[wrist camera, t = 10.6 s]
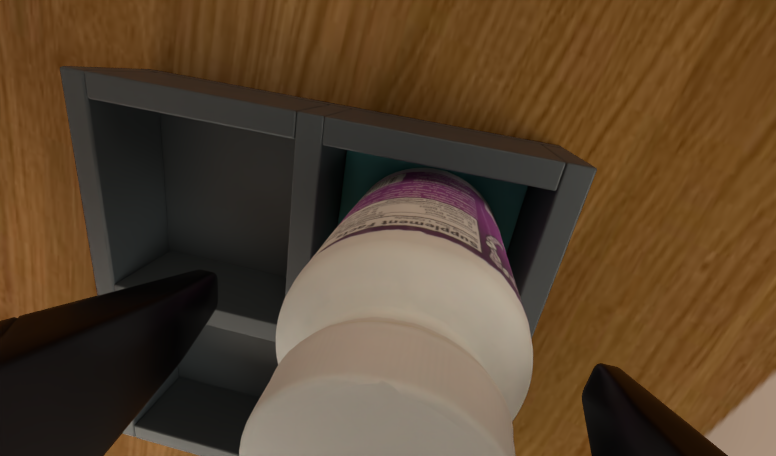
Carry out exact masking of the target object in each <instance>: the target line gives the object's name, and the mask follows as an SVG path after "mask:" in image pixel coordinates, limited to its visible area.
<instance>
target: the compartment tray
mask: <svg viewBox="0 0 776 456" xmlns="http://www.w3.org/2000/svg"><path fill="white" fill-rule="evenodd" d="M60 72H61V78H62V84H63V90H64V96H65V102H66V108H67V114H68V120H69V127H70V133H71V139H72V145H73V151H74V157H75V163H76V169H77V175H78V181H79V187H80V193H81V199H82V205H83V211H84V217H85V223H86V229H87V235H88V241H89V247H90V253H91V259H92V265H93V271H94V277H95V283H96V289H97V295H102V294H106V293H110V292H113V291H117V290H121V289H125V288H129V287H132V286H136V285H140V284H144V283H148V282H152V281H155V280H159V279H163V278H167V277H171V276H175V275H178V274H182V273H186V272H190V271H194V270H198V269H202V270H206V271H210V272H214V273H215V274H216V275H217V278H218V305H217V308H216V310H215V312H214V313H213V315H212V316H211V318H210V319H209V321H208V322H207V324H206V325H205V327H204V328H203V330H202V331H201V333H200V334H199V336H198V337H197V339H196V340H195V342H194V343H193V345H192V346H191V348H190V349H189V351H188V352H187V354H186V355H185V357H184V358H183V359H182V361H181V362H180V364H179V365H178V366H177V367H176V369H175V370H174V371H173V372H172V374H171V375H170V376H169V377H168V378H167V380H166V381H165V382H164V383H163V384H162V386H161V387H160V388H159V389H158V390H157V392H156V393H155V394H154V395H153V397H152V398H151V399H150V400H149V401H148V403H147V404H146V405H145V406H144V407H143V409H142V410H141V411H140V412H139V413H138V415H137V416H136V417H135V418H134V419H133V421H132V422H131V423H130V424H129V426H128V427H127V428H126V429H125V430H124V432H123V434H126V435H130V436H133V437H135V436H136V437H137V438H139V439H143V440H146V441H150V442H153V443H157V444H161V445H164V446H168V447H171V448H175V449H178V450H182V451H185V452H189V453H192V454H196V455H199V456H239V448H240V441H241V437H242V434H243V431H244V428H245V425H246V422H247V421H248V419H249V417H250V415H251V413H252V411H253V409H254V407H255V406H256V404H257V402H258V400H259V399H260V397H261V395H262V394H263V392H264V390H265V388H266V387H267V385H268V383H269V382H270V380H271V378H272V376H273V374H274V372H275V370H276V368H277V366H278V361H277V355H276V328H277V322H278V317H279V313H280V310H281V307H282V304H283V301H284V299H285V297H286V295H287V293H288V291H289V289H290V288H291V286H292V284H293V282H294V281H295V279H296V278H297V276H298V275H299V273H300V272H301V271H302V269H303V268H304V267H305V266H306V264H307V263H308V262H309V261H310V260H311V259H312V257H313V256H314V255H315V254H316V252H317V251H318V250H319V249H320V248H321V246H322V245H323V244H324V242H325V241H326V240H327V239H328V237H329V236H330V235H331V234H332V233H333V231H334V230H335V229H336V228H337V226H338V225H339V224H340V222H341V221H342V220H343V219H344V218H345V217H346V215H347V214H348V213H349V212H350V210H351V209H352V208H353V207H354V206H355V205H356V204H357V203H358V201H359V200H360V199H361V198H362V197H363V196H364V195H365V194H366V192H367V191H368V190H369V189H370V188H371V187H372V186H374V185H375V184H376V183H377V182H378V181H380V180H381V179H383V178H384V177H386V176H388V175H390V174H393V173H395V172H398V171H402V170H405V169H411V168H434V169H438V170H444V171H447V172H449V173H452V174H454V175H456V176H458V177H460V178H462V179H463V180H465V181H466V182H468V183H469V184H471V185H472V186H473V187H474V188H475V189H476V190H477V191H478V192H479V193H480V194H481V195H482V196H483V198H484V199H485V200H486V202H487V203H488V205H489V206H490V209H491V211H492V213H493V215H494V218H495V220H496V223H497V225H498V228H499V231H500V234H501V238H502V241H503V244H504V248H505V251H506V255H507V258H508V261H509V264H510V267H511V270H512V273H513V277H514V279H515V283H516V286H517V289H518V292H519V295H520V298H521V302H522V305H523V307H524V310H525V313H526V315H527V319H528V322H529V327H530V334H531V339H532V336H533V333H534V331H535V328H536V326H537V323H538V321H539V318H540V315H541V313H542V310H543V308H544V305H545V302H546V300H547V297H548V295H549V292H550V290H551V287H552V284H553V282H554V279H555V277H556V274H557V272H558V269H559V266H560V264H561V261H562V259H563V256H564V254H565V251H566V248H567V246H568V243H569V241H570V238H571V235H572V233H573V230H574V228H575V225H576V223H577V220H578V217H579V215H580V212H581V210H582V207H583V205H584V202H585V199H586V197H587V194H588V192H589V189H590V186H591V184H592V181H593V179H594V176H595V174H596V171H597V169H596V168H595V167H593V166H592V165H590V164H589V163H587V162H585V161H584V160H582V159H580V158H579V157H577V156H575V155H574V154H572V153H571V152H569V151H567V150H566V149H564V148H562V147H561V146H558V145H552V144H547V143H542V142H536V141H531V140H526V139H520V138H515V137H510V136H504V135H499V134H494V133H488V132H483V131H478V130H472V129H467V128H462V127H456V126H451V125H446V124H440V123H435V122H429V121H424V120H419V119H413V118H408V117H403V116H397V115H392V114H387V113H381V112H376V111H371V110H365V109H360V108H355V107H349V106H344V105H339V104H333V103H328V102H323V101H317V100H312V99H307V98H301V97H296V96H290V95H285V94H280V93H274V92H269V91H264V90H258V89H253V88H248V87H242V86H237V85H232V84H226V83H221V82H216V81H210V80H205V79H200V78H194V77H189V76H184V75H178V74H173V73H167V72H162V71H157V70H151V69H128V68H102V67H75V66H62V67H60Z"/></svg>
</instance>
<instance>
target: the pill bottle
mask: <svg viewBox="0 0 776 456" xmlns="http://www.w3.org/2000/svg"><path fill="white" fill-rule="evenodd" d="M276 355H277V361H278V366H277V368H276V370H275V372H274V374H273V376H272V378H271V380H270V382H269V383H268V385H267V387H266V388H265V390H264V392H263V394H262V395H261V397H260V399H259V400H258V402H257V404H256V406H255V407H254V409H253V411H252V413H251V415H250V417H249V419H248V421H247V422H246V425H245V428H244V431H243V434H242V437H241V441H240V448H239V456H516V455H515V448H514V441H513V425H512V421H513V420H514V418H515V417H516V415H517V414H518V412H519V410H520V408H521V406H522V404H523V402H524V400H525V398H526V395H527V392H528V389H529V385H530V382H531V376H532V369H533V347H532V340H531V334H530V327H529V322H528V319H527V315H526V313H525V310H524V307H523V305H522V302H521V298H520V295H519V292H518V289H517V286H516V283H515V279H514V277H513V273H512V270H511V267H510V264H509V261H508V258H507V255H506V251H505V248H504V244H503V241H502V238H501V234H500V231H499V228H498V225H497V223H496V220H495V218H494V215H493V213H492V211H491V209H490V206H489V205H488V203H487V202H486V200H485V199H484V198H483V196H482V195H481V194H480V193H479V192H478V191H477V190H476V189H475V188H474V187H473V186H472V185H471V184H469V183H468V182H466V181H465V180H463V179H462V178H460V177H458V176H456V175H454V174H452V173H449V172H447V171H444V170H438V169H434V168H411V169H405V170H402V171H398V172H395V173H393V174H390V175H388V176H386V177H384V178H383V179H381V180H380V181H378V182H377V183H376V184H375V185H374V186H372V187H371V188H370V189H369V190H368V191H367V192H366V194H365V195H364V196H363V197H362V198H361V199H360V200H359V201H358V203H357V204H356V205H355V206H354V207H353V208H352V209H351V210H350V212H349V213H348V214H347V215H346V217H345V218H344V219H343V220H342V221H341V222H340V224H339V225H338V226H337V228H336V229H335V230H334V231H333V233H332V234H331V235H330V236H329V237H328V239H327V240H326V241H325V242H324V244H323V245H322V246H321V248H320V249H319V250H318V251H317V252H316V254H315V255H314V256H313V257H312V259H311V260H310V261H309V262H308V263H307V264H306V266H305V267H304V268H303V269H302V271H301V272H300V273H299V275H298V276H297V278H296V279H295V281H294V282H293V284H292V286H291V288H290V289H289V291H288V293H287V295H286V297H285V299H284V301H283V304H282V307H281V310H280V313H279V317H278V322H277V328H276Z"/></svg>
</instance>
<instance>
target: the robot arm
mask: <svg viewBox="0 0 776 456" xmlns="http://www.w3.org/2000/svg"><path fill="white" fill-rule="evenodd" d="M217 305H218V278H217V275H216V274H215V273H214V272H210V271H206V270H202V269H198V270H194V271H190V272H186V273H182V274H178V275H175V276H171V277H167V278H163V279H159V280H155V281H152V282H148V283H144V284H140V285H136V286H132V287H129V288H125V289H121V290H117V291H113V292H110V293H106V294H102V295H98V296H94V297H90V298H87V299H83V300H79V301H75V302H71V303H68V304H64V305H60V306H56V307H52V308H48V309H45V310H41V311H37V312H33V313H29V314H25V315H22V316H19V317H18V318H15V317H14V318H10V319H6V320H2V321H0V456H104V455H105V453H106V452H107V451H108V450H109V448H110V447H111V446H112V445H113V444H114V442H115V441H116V440H117V439H118V438H119V436H120V435H121V434H122V433H123V432H124V430H125V429H126V428H127V427H128V426H129V424H130V423H131V422H132V421H133V419H134V418H135V417H136V416H137V415H138V413H139V412H140V411H141V410H142V409H143V407H144V406H145V405H146V404H147V403H148V401H149V400H150V399H151V398H152V397H153V395H154V394H155V393H156V392H157V390H158V389H159V388H160V387H161V386H162V384H163V383H164V382H165V381H166V380H167V378H168V377H169V376H170V375H171V374H172V372H173V371H174V370H175V369H176V367H177V366H178V365H179V364H180V362H181V361H182V359H183V358H184V357H185V355H186V354H187V352H188V351H189V349H190V348H191V346H192V345H193V343H194V342H195V340H196V339H197V337H198V336H199V334H200V333H201V331H202V330H203V328H204V327H205V325H206V324H207V322H208V321H209V319H210V318H211V316H212V315H213V313H214V312H215V310H216V308H217ZM582 403H583V409H584V415H585V420H586V426H587V432H588V437H589V443H590V449H591V454H592V456H728V455H726V454H725V453H724V452H723V451H721V450H720V449H719V448H718V447H716V446H715V445H714V444H713V443H711V442H710V441H709V440H708V439H707V438H705V437H704V436H703V435H702V434H700V433H699V432H698V431H697V430H695V429H694V428H693V427H692V426H690V425H689V424H688V423H687V422H686V421H684V420H683V419H682V418H681V417H679V416H678V415H677V414H676V413H674V412H673V411H672V410H671V409H669V408H668V407H667V406H666V405H664V404H663V403H662V402H661V401H660V400H658V399H657V398H656V397H655V396H653V395H652V394H651V393H650V392H648V391H647V390H646V389H645V388H643V387H642V386H641V385H640V384H638V383H637V382H636V381H635V380H634V379H632V378H631V377H630V376H629V375H627V374H626V373H625V372H624V371H622V370H621V369H620V368H618V367H615V366H611V365H606V364H602V363H600V364H597V365H596V366H595V367H594V369H593V371H592V373H591V375H590V377H589V379H588V381H587V383H586V385H585V387H584V390H583V393H582Z"/></svg>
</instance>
